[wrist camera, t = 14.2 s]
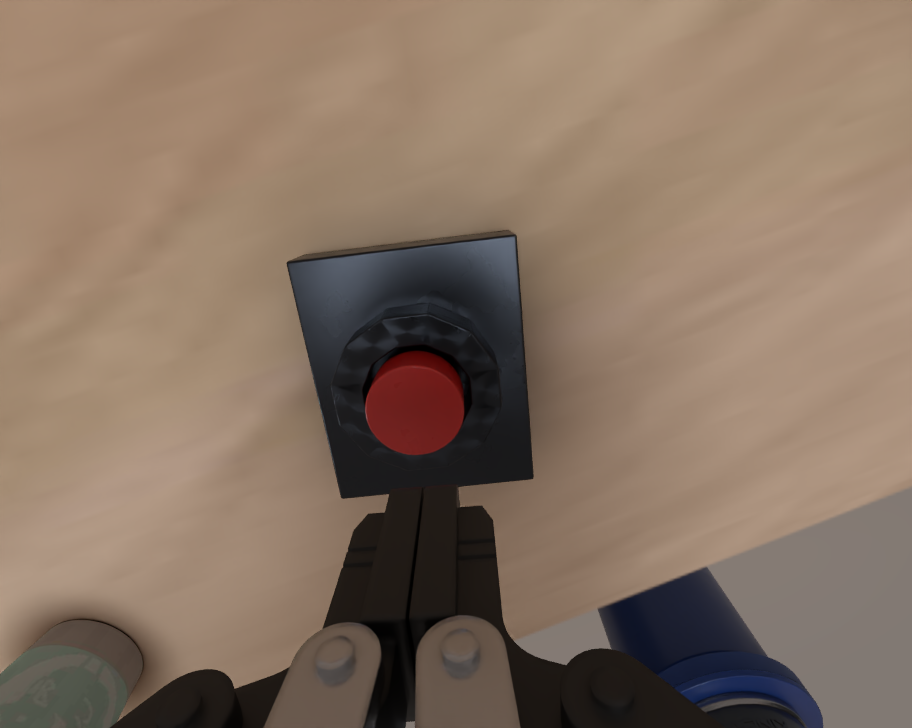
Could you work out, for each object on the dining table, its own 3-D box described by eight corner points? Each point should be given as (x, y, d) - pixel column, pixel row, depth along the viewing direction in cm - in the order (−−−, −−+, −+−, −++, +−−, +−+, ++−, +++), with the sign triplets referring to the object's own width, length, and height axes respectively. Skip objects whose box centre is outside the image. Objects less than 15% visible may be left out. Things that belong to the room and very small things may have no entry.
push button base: (527, 454, 24) (540, 503, 20) (350, 473, 24) (331, 524, 21) (510, 229, 20) (523, 238, 17) (301, 254, 21) (268, 268, 17)
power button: (468, 428, 19) (469, 450, 18) (380, 437, 20) (373, 460, 18) (457, 344, 18) (458, 359, 17) (364, 355, 18) (356, 371, 17)
